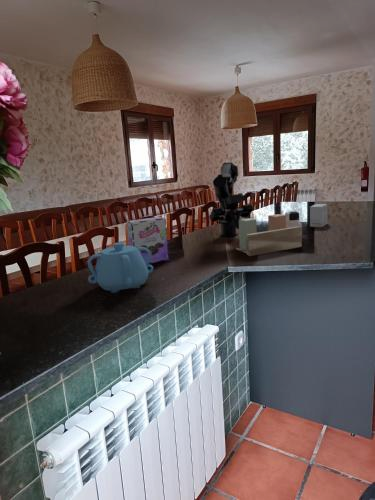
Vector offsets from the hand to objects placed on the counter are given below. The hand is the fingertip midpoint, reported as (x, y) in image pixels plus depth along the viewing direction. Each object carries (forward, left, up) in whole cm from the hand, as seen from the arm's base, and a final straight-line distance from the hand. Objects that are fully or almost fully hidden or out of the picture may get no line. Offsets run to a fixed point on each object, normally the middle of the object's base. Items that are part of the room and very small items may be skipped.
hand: (239, 228), depth 145 cm
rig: (+12, +3, -8) cm, 14 cm away
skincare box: (+5, +58, -8) cm, 59 cm away
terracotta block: (+11, +11, -8) cm, 17 cm away
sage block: (+6, -2, -8) cm, 10 cm away
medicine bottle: (+11, +23, -8) cm, 27 cm away
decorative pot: (+3, -59, -8) cm, 60 cm away
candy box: (-13, -37, -8) cm, 40 cm away
